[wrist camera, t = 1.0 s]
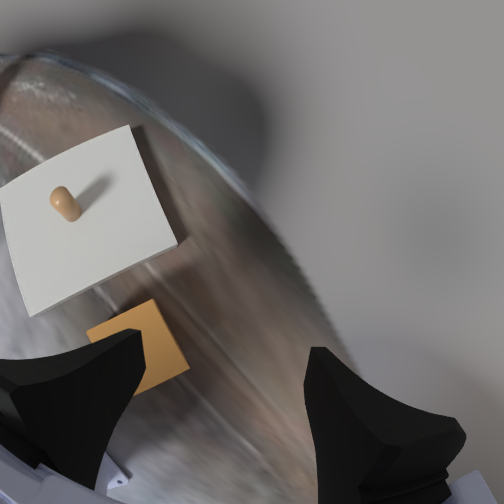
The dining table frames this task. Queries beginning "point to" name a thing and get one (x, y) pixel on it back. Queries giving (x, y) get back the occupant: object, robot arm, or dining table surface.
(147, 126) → the dining table surface
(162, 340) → the orange cube
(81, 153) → the plate
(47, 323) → the dining table surface
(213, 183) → the dining table surface
